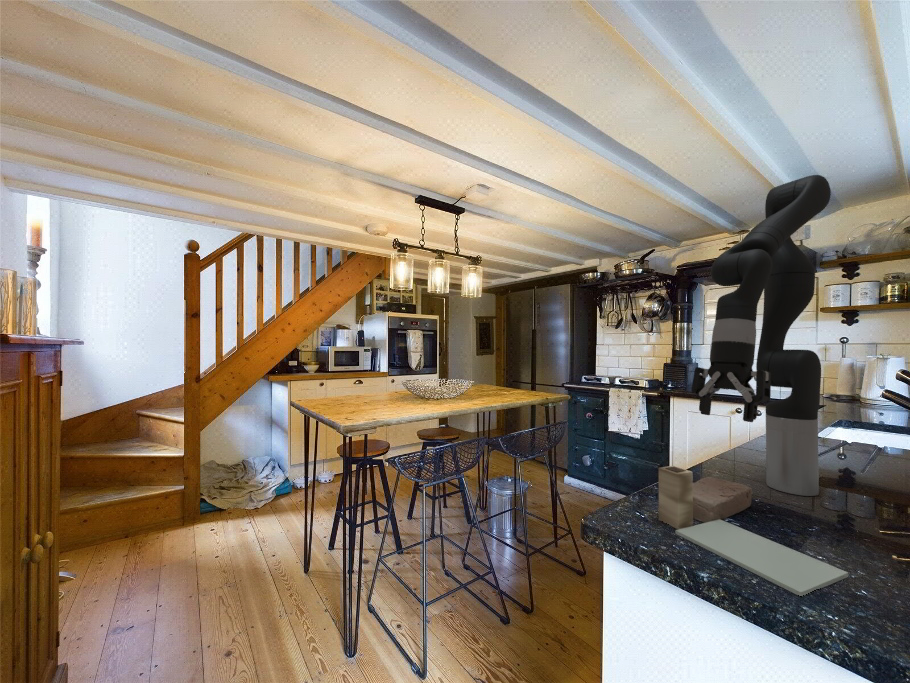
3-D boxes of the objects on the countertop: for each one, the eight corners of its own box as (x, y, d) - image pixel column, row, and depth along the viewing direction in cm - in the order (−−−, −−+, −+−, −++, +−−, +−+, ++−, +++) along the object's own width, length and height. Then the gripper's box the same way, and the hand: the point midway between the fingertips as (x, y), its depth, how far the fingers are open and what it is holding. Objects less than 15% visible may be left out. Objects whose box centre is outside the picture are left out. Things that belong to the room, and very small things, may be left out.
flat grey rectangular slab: (719, 522, 70) (719, 519, 70) (848, 576, 53) (848, 572, 53) (675, 533, 66) (675, 530, 66) (801, 596, 49) (801, 592, 49)
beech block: (673, 516, 73) (673, 464, 73) (693, 525, 69) (692, 471, 69) (658, 519, 71) (658, 467, 71) (678, 529, 67) (677, 473, 68)
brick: (712, 526, 69) (712, 501, 69) (667, 509, 76) (667, 486, 76) (753, 509, 77) (753, 486, 77) (709, 495, 84) (709, 474, 85)
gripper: (783, 345, 74) (775, 426, 72) (710, 345, 87) (703, 414, 85) (760, 338, 71) (752, 422, 69) (689, 340, 84) (681, 410, 83)
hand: (725, 418), depth 77 cm, fingers open, 8 cm apart
